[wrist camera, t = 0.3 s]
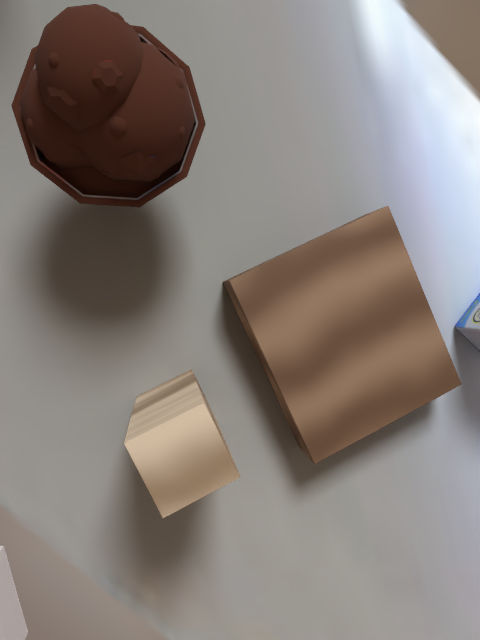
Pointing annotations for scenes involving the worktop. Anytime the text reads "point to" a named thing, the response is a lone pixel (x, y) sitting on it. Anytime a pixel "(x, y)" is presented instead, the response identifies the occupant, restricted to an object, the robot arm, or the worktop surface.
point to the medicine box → (471, 323)
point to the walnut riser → (344, 333)
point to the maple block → (178, 444)
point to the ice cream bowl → (107, 109)
